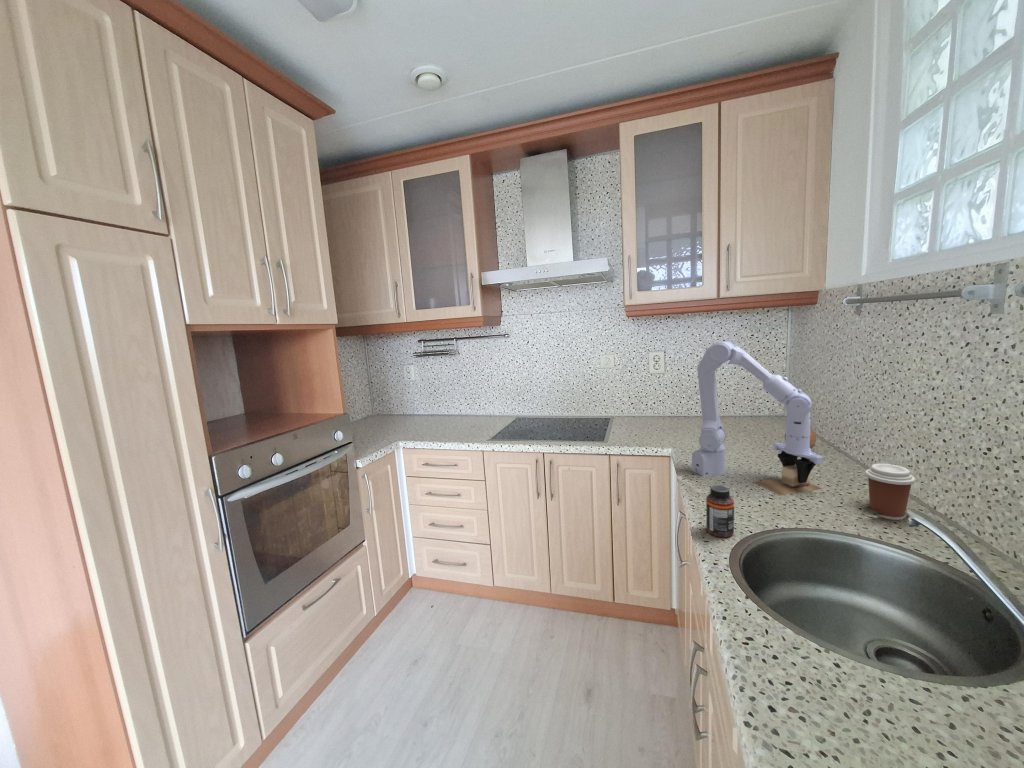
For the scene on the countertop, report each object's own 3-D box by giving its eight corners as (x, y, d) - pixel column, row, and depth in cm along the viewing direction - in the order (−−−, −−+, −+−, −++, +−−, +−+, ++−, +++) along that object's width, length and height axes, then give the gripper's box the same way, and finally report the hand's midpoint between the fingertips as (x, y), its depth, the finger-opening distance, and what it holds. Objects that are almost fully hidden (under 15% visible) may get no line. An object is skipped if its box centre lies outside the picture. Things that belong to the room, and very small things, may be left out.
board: (779, 499, 111) (780, 494, 110) (752, 485, 120) (752, 481, 120) (822, 492, 113) (822, 488, 113) (791, 479, 123) (792, 475, 122)
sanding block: (792, 487, 114) (792, 470, 113) (781, 482, 118) (782, 466, 117) (809, 484, 115) (810, 468, 114) (799, 480, 119) (799, 464, 118)
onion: (813, 448, 149) (814, 422, 148) (817, 455, 141) (818, 428, 140) (783, 445, 154) (784, 420, 153) (785, 453, 146) (786, 426, 145)
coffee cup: (863, 502, 106) (866, 459, 104) (912, 511, 99) (915, 466, 98) (861, 515, 99) (864, 469, 97) (913, 526, 93) (917, 477, 91)
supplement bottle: (709, 523, 100) (709, 481, 98) (736, 530, 96) (736, 486, 95) (703, 534, 95) (703, 489, 94) (731, 541, 92) (731, 495, 90)
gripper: (833, 440, 108) (831, 487, 110) (788, 427, 122) (786, 469, 124) (811, 443, 107) (809, 490, 109) (768, 430, 121) (767, 472, 123)
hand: (796, 479), depth 116 cm, fingers closed on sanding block, 4 cm apart
